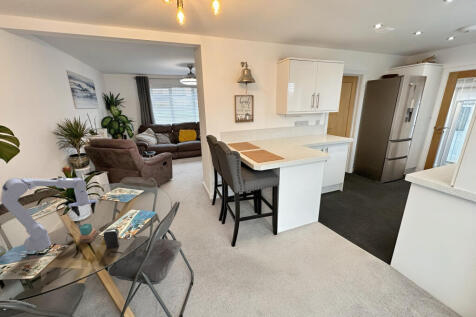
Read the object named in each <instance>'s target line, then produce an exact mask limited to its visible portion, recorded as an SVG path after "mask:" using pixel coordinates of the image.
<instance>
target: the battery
mask: <svg viewBox="0 0 476 317" xmlns="http://www.w3.org/2000/svg"><path fill="white" fill-rule="evenodd" d="M119 233H120V232H119V229H118V228H107V229H106V230H105V231H104V232H103V234H102V235H103V240H104V243H105V247H106V248H107V249H109V248H110V249H113V248H119V247H120V244H121V243H120V239H119V238H120V237H119V235H120V234H119Z"/></svg>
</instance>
